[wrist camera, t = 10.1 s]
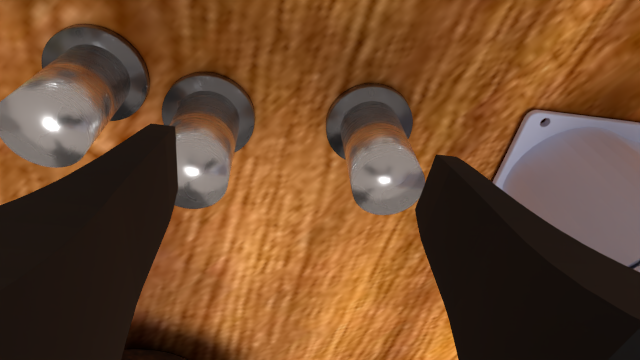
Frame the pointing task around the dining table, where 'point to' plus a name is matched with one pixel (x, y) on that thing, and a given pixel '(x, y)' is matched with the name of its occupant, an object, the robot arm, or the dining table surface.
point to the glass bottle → (148, 355)
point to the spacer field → (197, 121)
